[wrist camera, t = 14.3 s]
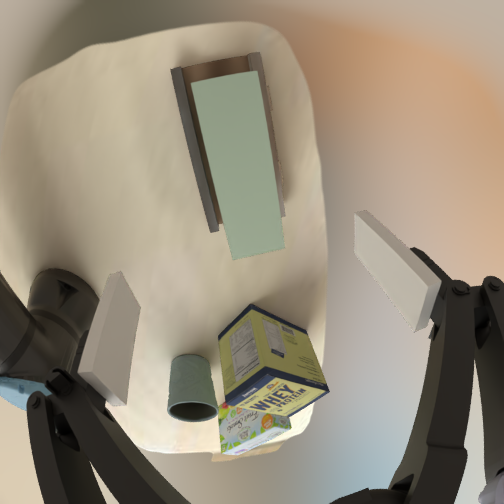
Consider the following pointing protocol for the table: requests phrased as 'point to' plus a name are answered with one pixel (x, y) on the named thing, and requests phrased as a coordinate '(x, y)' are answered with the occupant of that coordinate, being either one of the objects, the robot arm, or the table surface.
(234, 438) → the snack box
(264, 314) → the protein box
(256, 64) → the facing shelf
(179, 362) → the green cup
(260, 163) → the cracker box
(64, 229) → the table surface
